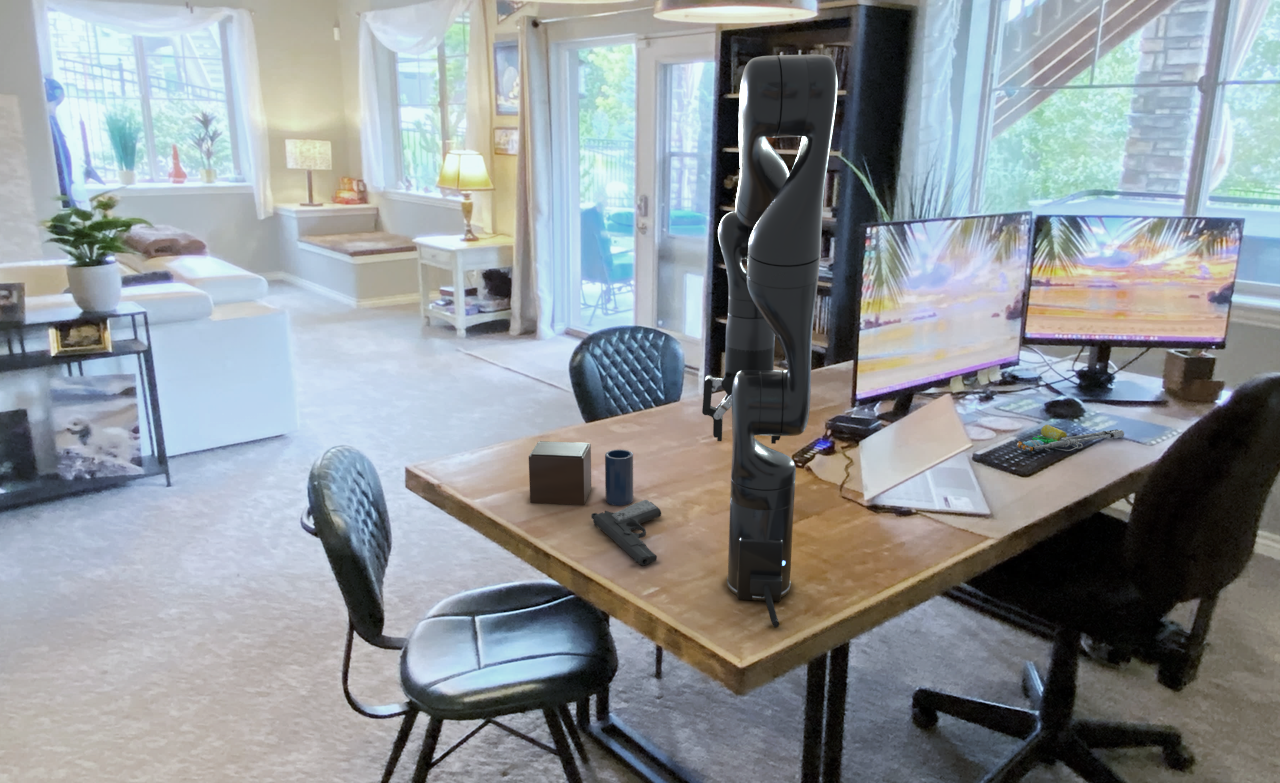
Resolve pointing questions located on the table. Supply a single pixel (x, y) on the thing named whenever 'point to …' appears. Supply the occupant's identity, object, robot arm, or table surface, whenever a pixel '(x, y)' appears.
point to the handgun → (629, 528)
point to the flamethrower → (1064, 439)
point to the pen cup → (619, 477)
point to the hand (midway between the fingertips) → (746, 441)
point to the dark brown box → (560, 472)
